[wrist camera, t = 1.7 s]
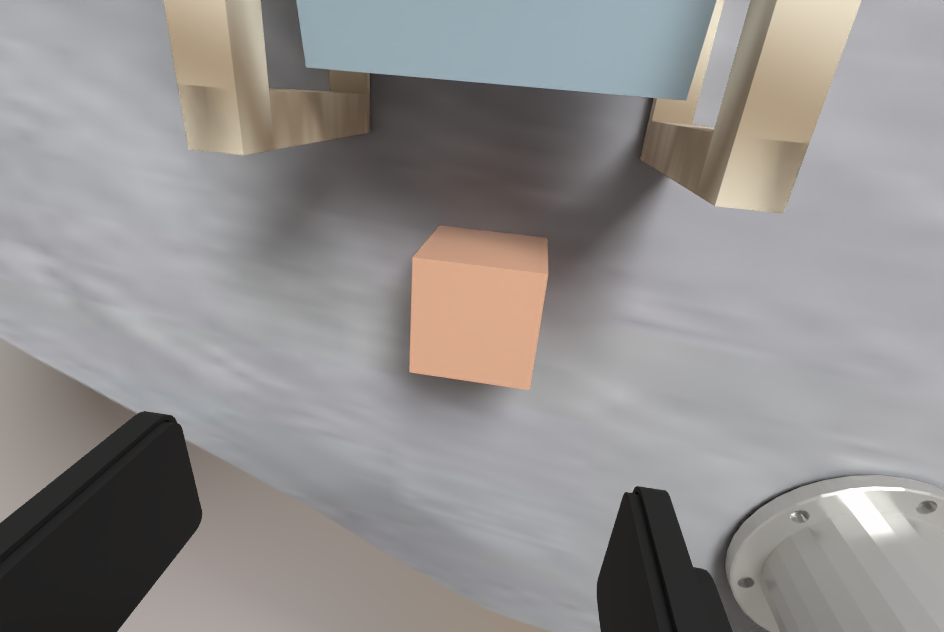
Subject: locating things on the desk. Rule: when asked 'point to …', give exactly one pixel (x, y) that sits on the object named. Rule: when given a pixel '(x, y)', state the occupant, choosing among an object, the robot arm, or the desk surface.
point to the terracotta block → (478, 305)
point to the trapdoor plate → (515, 41)
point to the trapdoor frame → (669, 127)
